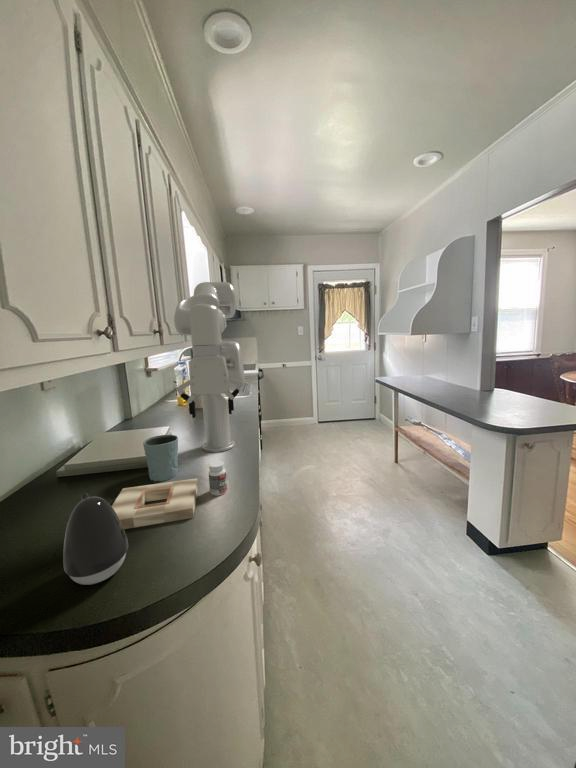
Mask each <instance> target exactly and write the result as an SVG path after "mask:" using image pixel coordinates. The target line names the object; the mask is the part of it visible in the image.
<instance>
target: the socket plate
mask: <svg viewBox="0 0 576 768" xmlns="http://www.w3.org/2000/svg"><path fill="white" fill-rule="evenodd" d="M198 488H199V482H198V477H196V478H191V479H183V480H175V481H168V482H166V481H165V482H160V483H154V484H145V485H138V486H131V487H124V488H122V489H121V491H120V492H119V494H118V496H117V497H116V498H115V499H114V502H113V503H112V505H111V506H112V508H113V509H114V510H115V512H116V514H117V515H118V517H119V519H120V521H121V523H122V525H123V528H124V530H128V529H134V528H140V527H146V526H152V525H157V524H163V523H170V522H176V521H182V520H188V519H193V518H194V517H195V510H196V503H197V495H198ZM160 500H166V501H164V502H158V503H151V504H149V503H148V504H146V503H147V502H153V501H155V502H156V501H160Z"/></svg>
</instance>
